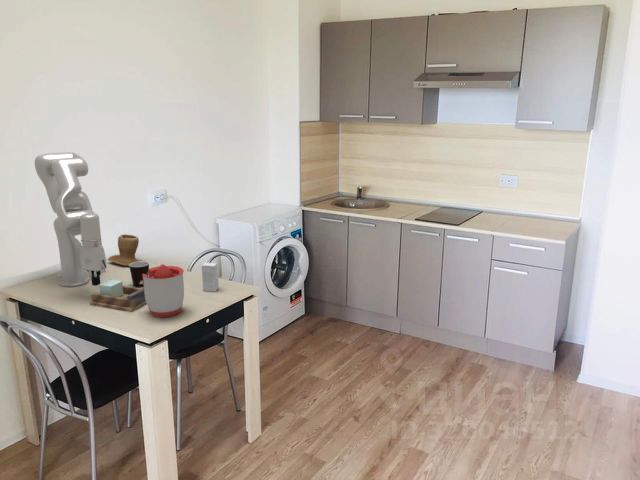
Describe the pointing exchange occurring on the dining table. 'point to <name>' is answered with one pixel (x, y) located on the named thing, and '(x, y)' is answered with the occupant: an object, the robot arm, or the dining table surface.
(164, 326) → the dining table surface
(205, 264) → the skincare box
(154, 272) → the citrus juicer
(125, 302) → the rail board
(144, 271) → the coffee mug
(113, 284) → the block
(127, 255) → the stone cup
